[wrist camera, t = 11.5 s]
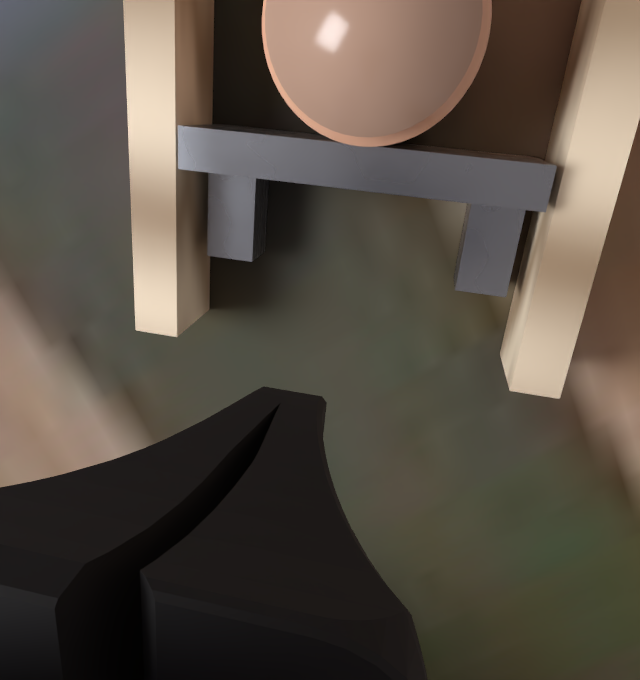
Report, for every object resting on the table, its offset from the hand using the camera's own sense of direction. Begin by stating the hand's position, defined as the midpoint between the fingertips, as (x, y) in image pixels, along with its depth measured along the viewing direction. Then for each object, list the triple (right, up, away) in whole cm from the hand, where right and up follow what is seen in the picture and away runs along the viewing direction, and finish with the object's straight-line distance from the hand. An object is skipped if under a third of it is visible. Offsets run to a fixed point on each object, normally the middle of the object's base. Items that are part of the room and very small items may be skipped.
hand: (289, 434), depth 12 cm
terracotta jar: (+3, +11, +6) cm, 13 cm away
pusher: (+2, +7, +8) cm, 10 cm away
